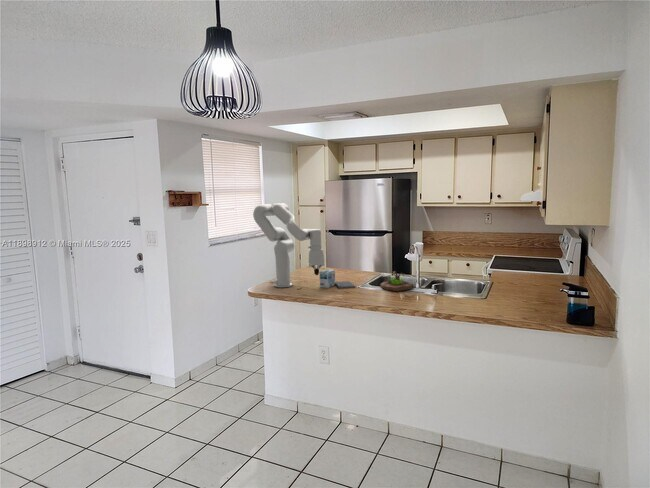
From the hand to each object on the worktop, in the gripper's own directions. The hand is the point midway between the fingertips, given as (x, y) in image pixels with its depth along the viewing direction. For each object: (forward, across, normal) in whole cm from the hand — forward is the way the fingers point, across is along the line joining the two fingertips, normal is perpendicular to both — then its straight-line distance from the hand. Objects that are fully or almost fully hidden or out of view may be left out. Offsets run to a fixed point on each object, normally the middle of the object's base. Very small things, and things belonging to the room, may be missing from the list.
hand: (316, 274), depth 271 cm
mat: (+9, +18, 0) cm, 20 cm away
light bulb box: (+9, +7, +1) cm, 11 cm away
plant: (+10, +51, -13) cm, 54 cm away
